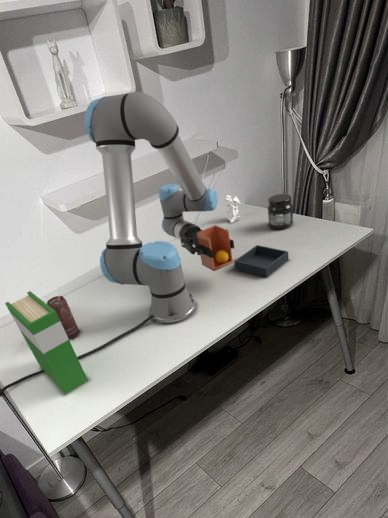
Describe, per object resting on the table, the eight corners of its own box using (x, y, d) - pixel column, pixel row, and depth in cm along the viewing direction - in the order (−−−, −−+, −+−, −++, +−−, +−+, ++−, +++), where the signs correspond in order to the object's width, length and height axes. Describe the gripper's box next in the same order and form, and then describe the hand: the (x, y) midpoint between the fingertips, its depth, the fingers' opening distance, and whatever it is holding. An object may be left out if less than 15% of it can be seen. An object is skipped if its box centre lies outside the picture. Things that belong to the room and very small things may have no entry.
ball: (215, 266, 140) (223, 260, 136) (211, 254, 141) (218, 247, 137) (225, 265, 143) (233, 259, 139) (220, 253, 143) (228, 247, 140)
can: (82, 328, 138) (67, 293, 129) (76, 340, 133) (60, 304, 124) (66, 330, 139) (50, 295, 130) (59, 341, 134) (42, 306, 126)
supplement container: (284, 218, 180) (283, 191, 173) (298, 225, 172) (297, 197, 165) (264, 225, 178) (262, 198, 171) (277, 232, 170) (275, 204, 163)
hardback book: (41, 368, 124) (4, 303, 109) (62, 356, 127) (30, 291, 112) (65, 394, 112) (28, 325, 98) (88, 380, 115) (55, 311, 101)
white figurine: (233, 224, 185) (229, 198, 178) (222, 222, 190) (218, 196, 182) (244, 217, 190) (242, 191, 182) (233, 215, 194) (230, 190, 186)
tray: (266, 277, 143) (265, 268, 140) (235, 269, 151) (234, 261, 149) (288, 260, 150) (288, 251, 148) (257, 253, 158) (256, 245, 156)
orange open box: (202, 264, 144) (196, 232, 137) (220, 256, 147) (215, 224, 139) (220, 275, 136) (215, 241, 128) (239, 266, 138) (235, 233, 131)
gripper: (212, 232, 157) (248, 248, 140) (166, 252, 150) (198, 271, 134) (209, 214, 152) (246, 227, 136) (162, 233, 146) (194, 250, 129)
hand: (222, 249), depth 135 cm, fingers closed on orange open box, 8 cm apart
